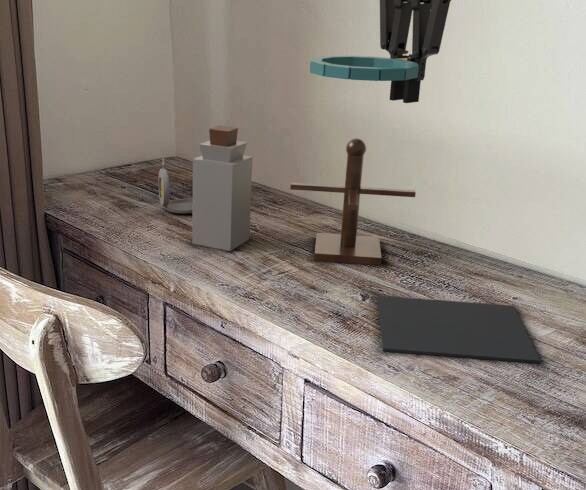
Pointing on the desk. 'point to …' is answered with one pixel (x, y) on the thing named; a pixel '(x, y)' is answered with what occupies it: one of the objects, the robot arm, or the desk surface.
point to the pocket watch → (164, 193)
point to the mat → (454, 329)
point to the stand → (350, 214)
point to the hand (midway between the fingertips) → (403, 100)
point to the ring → (364, 68)
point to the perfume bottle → (221, 191)
